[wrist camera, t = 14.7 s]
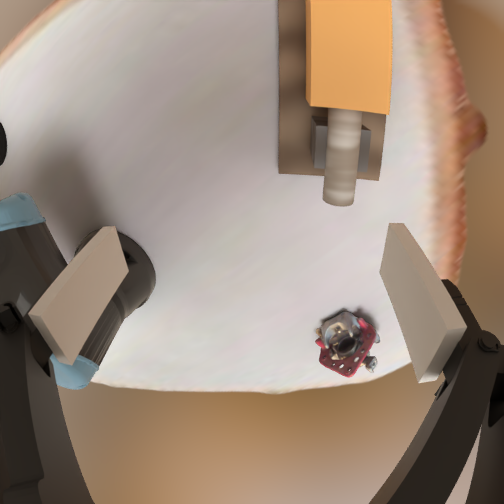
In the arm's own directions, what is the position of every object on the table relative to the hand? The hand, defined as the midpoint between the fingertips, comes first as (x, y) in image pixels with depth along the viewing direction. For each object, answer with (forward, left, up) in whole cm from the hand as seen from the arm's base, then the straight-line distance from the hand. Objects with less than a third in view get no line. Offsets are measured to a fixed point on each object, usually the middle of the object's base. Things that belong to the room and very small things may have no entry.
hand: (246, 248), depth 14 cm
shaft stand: (+7, +11, -24) cm, 27 cm away
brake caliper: (+13, -31, -25) cm, 41 cm away
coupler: (+7, +11, -22) cm, 25 cm away
